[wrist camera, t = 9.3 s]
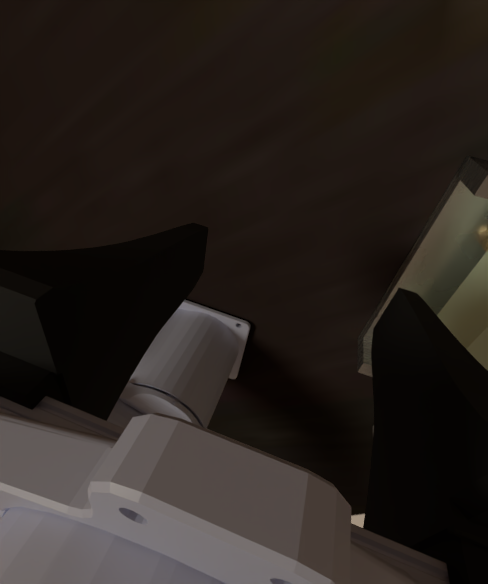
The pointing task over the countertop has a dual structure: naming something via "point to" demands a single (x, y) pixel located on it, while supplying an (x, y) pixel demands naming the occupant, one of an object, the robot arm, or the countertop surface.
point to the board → (470, 312)
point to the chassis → (441, 249)
